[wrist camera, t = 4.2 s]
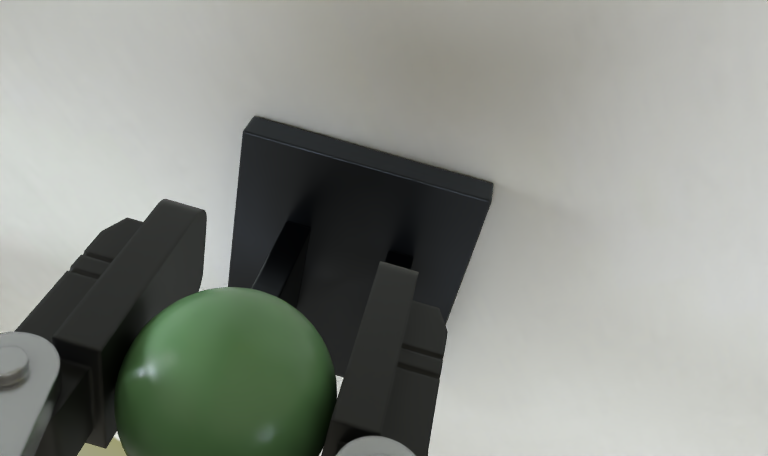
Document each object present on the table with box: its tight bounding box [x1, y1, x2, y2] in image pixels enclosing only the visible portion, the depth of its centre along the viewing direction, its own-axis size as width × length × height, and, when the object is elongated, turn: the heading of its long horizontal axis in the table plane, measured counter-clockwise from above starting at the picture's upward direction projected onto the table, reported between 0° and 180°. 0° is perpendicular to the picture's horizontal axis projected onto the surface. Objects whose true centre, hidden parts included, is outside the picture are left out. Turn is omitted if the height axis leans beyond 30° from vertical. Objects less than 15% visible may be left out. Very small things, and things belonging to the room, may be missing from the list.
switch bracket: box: [228, 116, 493, 377], centre depth 24 cm, size 11×9×13 cm
